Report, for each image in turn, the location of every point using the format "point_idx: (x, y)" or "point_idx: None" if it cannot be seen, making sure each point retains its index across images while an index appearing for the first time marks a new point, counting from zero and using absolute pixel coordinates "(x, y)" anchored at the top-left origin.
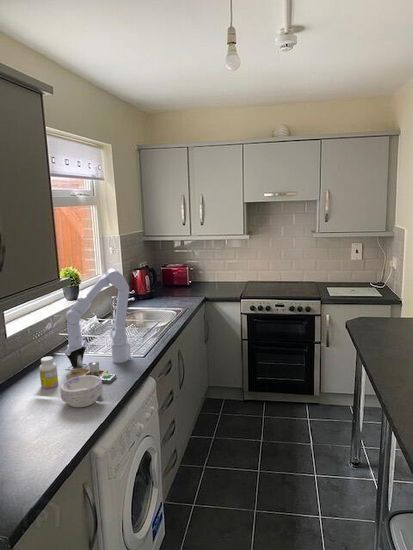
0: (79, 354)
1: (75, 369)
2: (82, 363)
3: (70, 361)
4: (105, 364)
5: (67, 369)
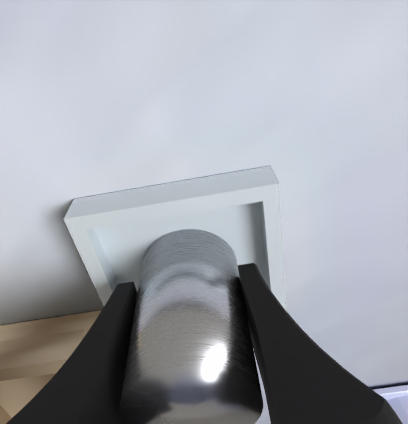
0: (236, 422)
1: (61, 366)
2: (272, 281)
3: (84, 342)
4: None
5: (75, 238)
